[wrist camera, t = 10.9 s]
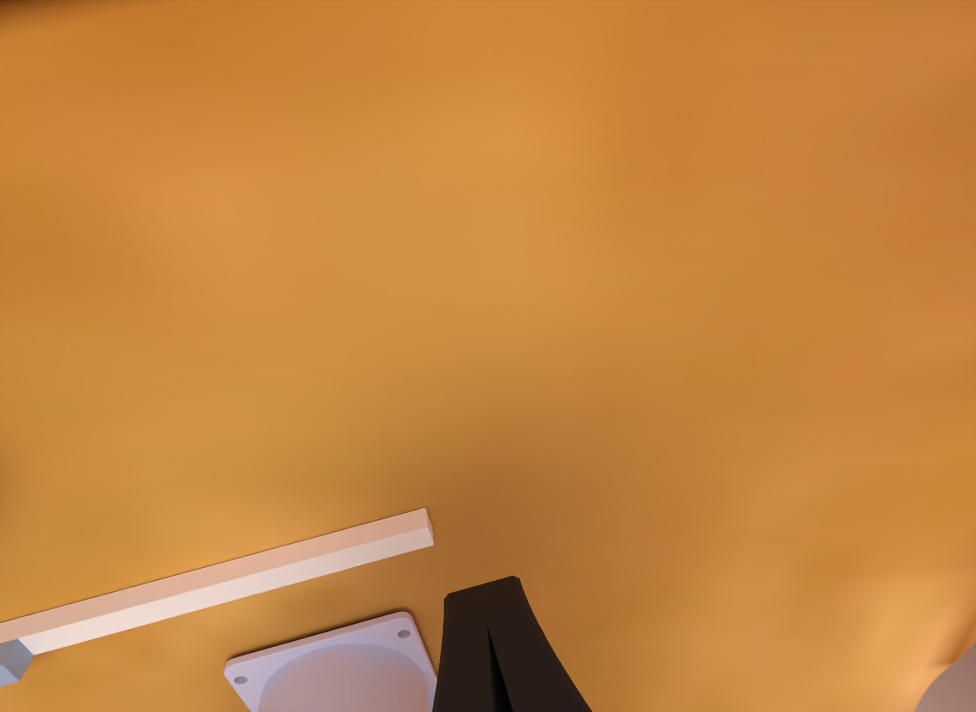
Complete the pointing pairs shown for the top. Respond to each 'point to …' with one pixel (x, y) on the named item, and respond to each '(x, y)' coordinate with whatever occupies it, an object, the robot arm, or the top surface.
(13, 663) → the bracket
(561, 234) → the top surface
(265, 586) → the white flat piece
